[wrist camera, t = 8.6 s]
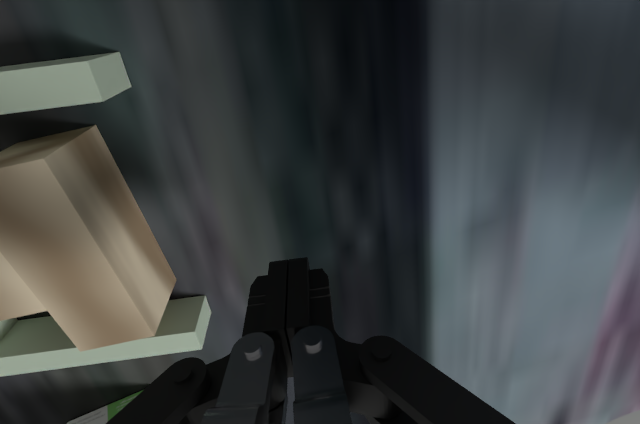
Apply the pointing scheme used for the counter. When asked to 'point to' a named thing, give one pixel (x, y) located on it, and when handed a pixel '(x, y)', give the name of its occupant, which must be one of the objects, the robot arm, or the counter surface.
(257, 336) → the robot arm
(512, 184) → the counter surface
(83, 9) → the counter surface
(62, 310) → the t block
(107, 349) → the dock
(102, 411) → the ink box
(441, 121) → the counter surface
